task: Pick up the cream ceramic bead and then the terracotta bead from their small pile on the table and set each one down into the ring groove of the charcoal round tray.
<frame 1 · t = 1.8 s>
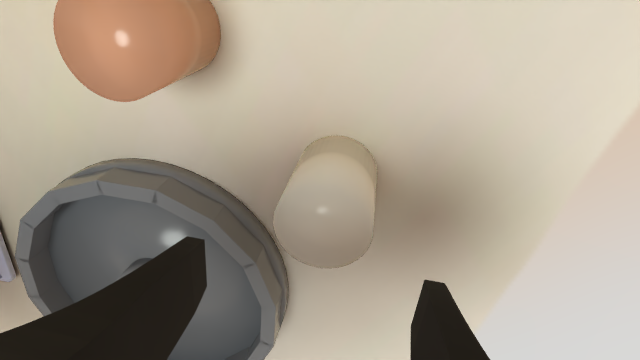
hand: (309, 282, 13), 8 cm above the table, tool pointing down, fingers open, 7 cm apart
terracotta bead: (178, 27, 18), on the table
groove tray: (165, 273, 25), on the table
cream bead: (337, 172, 20), on the table
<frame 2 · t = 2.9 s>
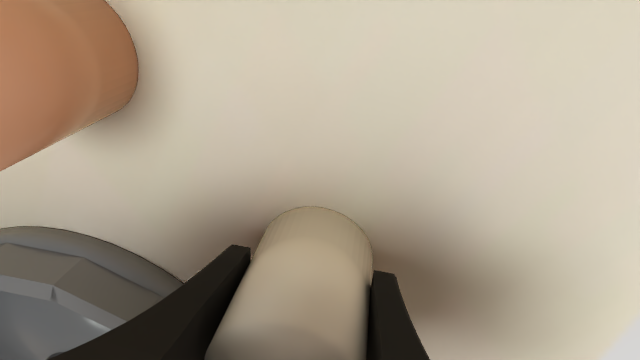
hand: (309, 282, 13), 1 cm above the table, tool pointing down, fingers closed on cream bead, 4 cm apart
terracotta bead: (76, 53, 12), on the table
cream bead: (316, 254, 14), on the table, touching gripper
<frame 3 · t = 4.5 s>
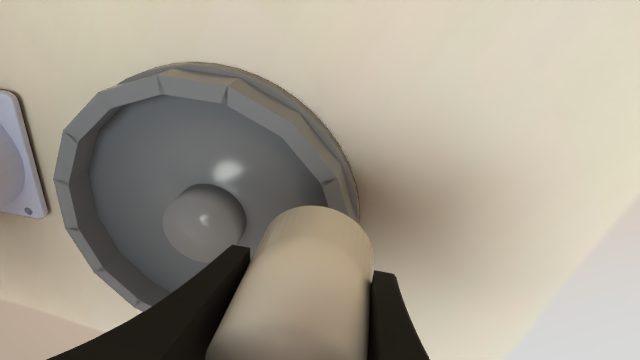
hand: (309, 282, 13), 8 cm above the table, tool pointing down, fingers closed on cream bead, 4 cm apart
groove tray: (218, 206, 22), on the table
cream bead: (316, 253, 14), point 7 cm above the table, touching gripper
when the fingers open (4 cm above the table, at t = 6.0 s): cream bead drops 1 cm, resting on groove tray.
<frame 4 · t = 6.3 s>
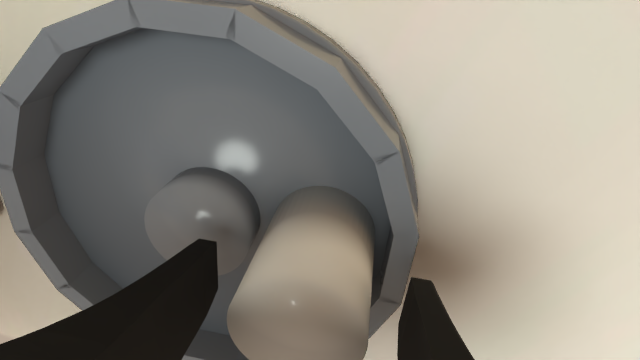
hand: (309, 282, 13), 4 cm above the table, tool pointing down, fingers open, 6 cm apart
groove tray: (221, 199, 17), on the table
cream bead: (323, 231, 15), point 1 cm above the table, touching groove tray
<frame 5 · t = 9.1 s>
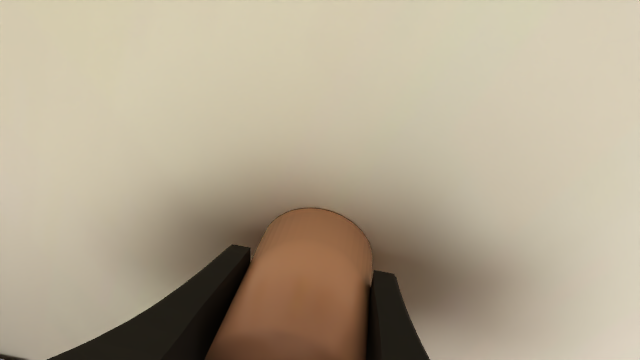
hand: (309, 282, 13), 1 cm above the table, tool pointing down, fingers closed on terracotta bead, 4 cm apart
terracotta bead: (315, 255, 14), on the table, touching gripper
when the fingers open (4 cm above the table, at t = 12.4 s): terracotta bead drops 1 cm, resting on groove tray.
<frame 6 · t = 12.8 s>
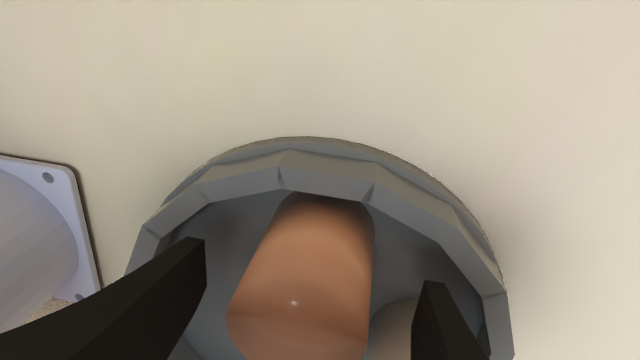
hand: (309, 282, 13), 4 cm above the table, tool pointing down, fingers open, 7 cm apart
terracotta bead: (323, 231, 15), point 1 cm above the table, touching groove tray
groove tray: (316, 297, 18), on the table
cream bead: (415, 333, 17), point 1 cm above the table, touching groove tray
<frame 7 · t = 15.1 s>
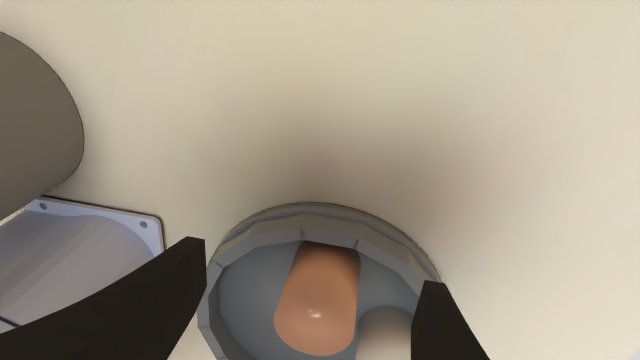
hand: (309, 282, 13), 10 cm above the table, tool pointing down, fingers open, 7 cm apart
terracotta bead: (327, 262, 24), point 1 cm above the table, touching groove tray
groove tray: (322, 304, 27), on the table
cream bead: (389, 328, 25), point 1 cm above the table, touching groove tray
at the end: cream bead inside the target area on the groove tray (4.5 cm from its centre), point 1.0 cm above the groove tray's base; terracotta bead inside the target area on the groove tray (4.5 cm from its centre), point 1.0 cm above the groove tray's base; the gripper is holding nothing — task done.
